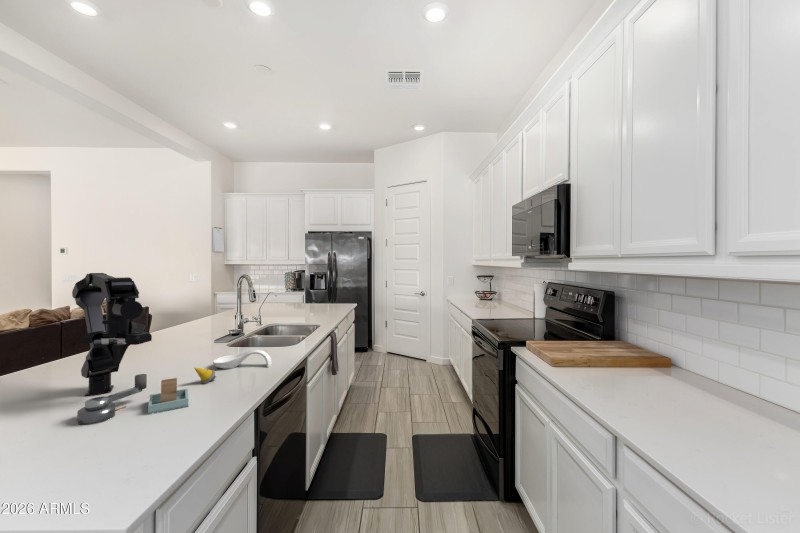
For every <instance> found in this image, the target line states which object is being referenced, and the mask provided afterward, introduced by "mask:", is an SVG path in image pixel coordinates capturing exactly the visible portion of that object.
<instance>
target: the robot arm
mask: <svg viewBox="0 0 800 533" xmlns="http://www.w3.org/2000/svg"><path fill="white" fill-rule="evenodd" d="M71 292H72V293H71V294H72V295H71V296H72V299H74V301H75V305H77V306H78V307H79V308H80V309H82V310H83V313H84V314H83V315H84V318H85V325H86V331H87V333H85V334H84V335H83V336H82V344H89V347H90V349H89V351H88V352H87V355H86V356H85V360H84V362H83V365H82V366H81V369H80V372H81V377H83V378H85V379H88V390H87V391H86V393H85V394H84V396H85V397H88V396H95V395H101V394H108V393H112V391H113V389H114V387H115V386H114V384H112V374H113V373H117V372H119V369H120V364H121V362H122V360H123V358H124V356H125V354H126V351H127V349H128V348H129V347H130V346H131V345H132V346H137V345H142V344H144V343H148V342H152V341H153V340H152V338H153V337H152V334H151V333H150V332H146V331H145V328H146V324H143V323H139V322H134V319H137V318H139V317H140V316H141V315H142V313H143V310H144V308H143V306H142V303H140V302H139V301H137V300H136V299H138V298H140V297H139V295H140V292H139V289H138V287H137V285H136V284H135V281H134V280H133V279H132V278H131V277H127V276H126V277H114V276H112V275H109V274H107V273H104V272H90V273H89V272H88V273H86V275H85V277H84V278H82V279H80V280H79V281H77V282H75V284H74V286H73V288H72V291H71ZM104 301H105V302H106V308H105V309H106V311H105V316H106V317H105V319H104V315H103V308H102V304H104Z"/></svg>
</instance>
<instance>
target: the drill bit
mask: <svg viewBox="0 0 800 533" xmlns="http://www.w3.org/2000/svg"><path fill="white" fill-rule="evenodd" d="M193 370H195V372H196V373H197V375H198V377H199V378H200V381H201V383H203V384H204V385H206V384H208V383H209V382H211V381H213V382H214V381H215V379H216V378H217V375H215V374H216V370H214V369H212V368H211V369H206V368H203V367H202V368H200V367H195V366H194V367H193Z"/></svg>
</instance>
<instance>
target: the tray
mask: <svg viewBox="0 0 800 533" xmlns="http://www.w3.org/2000/svg"><path fill="white" fill-rule="evenodd" d="M188 407H189V389H188V388H182V389H177V400H175V401H170V402H164V403H161V392H160V393H153V394H150V395H149V399H148V407H147V415H148V414H149V415H152V413H154V414H158V413H157V412H159V413H163V411H164V412H168V411H173V410H179V409H183V408H188Z"/></svg>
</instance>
